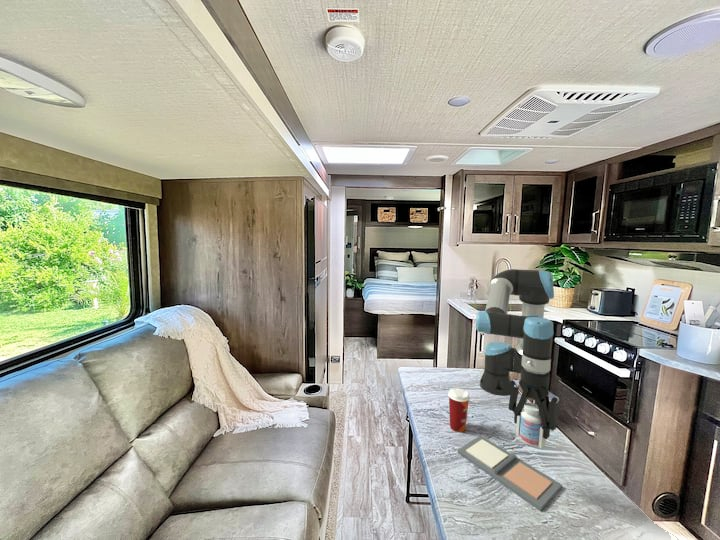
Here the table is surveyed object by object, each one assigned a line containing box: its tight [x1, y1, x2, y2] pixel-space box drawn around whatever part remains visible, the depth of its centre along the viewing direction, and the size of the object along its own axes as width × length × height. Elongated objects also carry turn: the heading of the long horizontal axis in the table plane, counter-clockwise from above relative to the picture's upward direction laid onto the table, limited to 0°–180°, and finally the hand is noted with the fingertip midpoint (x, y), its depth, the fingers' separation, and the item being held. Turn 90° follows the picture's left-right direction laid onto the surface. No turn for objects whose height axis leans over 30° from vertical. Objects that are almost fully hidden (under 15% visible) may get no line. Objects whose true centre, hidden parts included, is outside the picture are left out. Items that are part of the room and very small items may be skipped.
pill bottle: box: [519, 402, 542, 447], centre depth 92 cm, size 6×6×11 cm
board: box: [457, 435, 563, 512], centre depth 100 cm, size 14×28×2 cm, turn 35°
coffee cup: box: [447, 387, 470, 433], centre depth 120 cm, size 8×8×15 cm
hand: (530, 439), depth 92 cm, fingers closed on pill bottle, 6 cm apart
